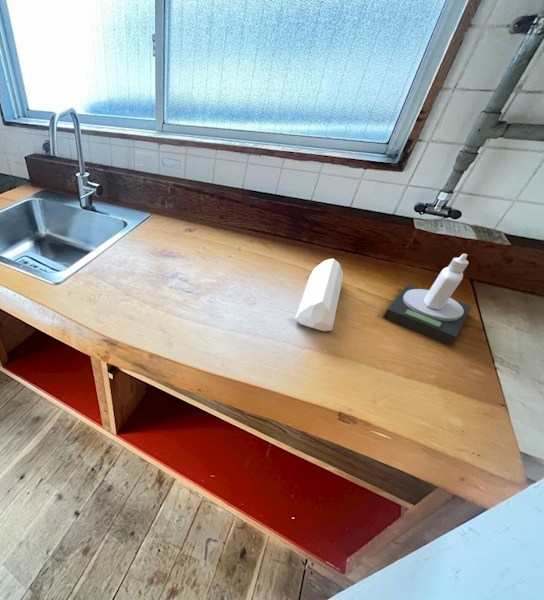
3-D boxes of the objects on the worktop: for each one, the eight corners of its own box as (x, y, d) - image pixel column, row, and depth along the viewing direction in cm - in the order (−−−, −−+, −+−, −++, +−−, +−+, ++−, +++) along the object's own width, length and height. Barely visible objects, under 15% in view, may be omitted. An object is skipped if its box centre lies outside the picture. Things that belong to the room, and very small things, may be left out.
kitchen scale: (466, 314, 71) (474, 303, 69) (449, 345, 64) (458, 333, 62) (403, 291, 79) (409, 280, 77) (382, 317, 71) (389, 306, 69)
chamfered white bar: (346, 328, 63) (355, 270, 79) (317, 304, 64) (332, 252, 80) (316, 344, 69) (330, 287, 85) (290, 322, 69) (309, 270, 85)
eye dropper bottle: (452, 305, 69) (487, 256, 62) (435, 312, 67) (468, 262, 60) (431, 294, 72) (461, 246, 65) (414, 300, 71) (443, 252, 63)
